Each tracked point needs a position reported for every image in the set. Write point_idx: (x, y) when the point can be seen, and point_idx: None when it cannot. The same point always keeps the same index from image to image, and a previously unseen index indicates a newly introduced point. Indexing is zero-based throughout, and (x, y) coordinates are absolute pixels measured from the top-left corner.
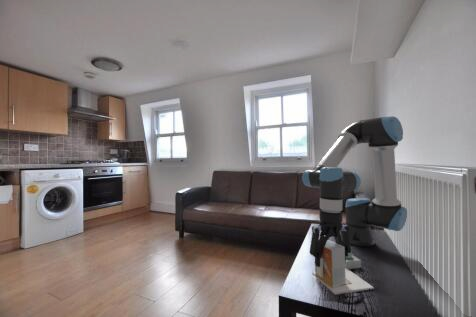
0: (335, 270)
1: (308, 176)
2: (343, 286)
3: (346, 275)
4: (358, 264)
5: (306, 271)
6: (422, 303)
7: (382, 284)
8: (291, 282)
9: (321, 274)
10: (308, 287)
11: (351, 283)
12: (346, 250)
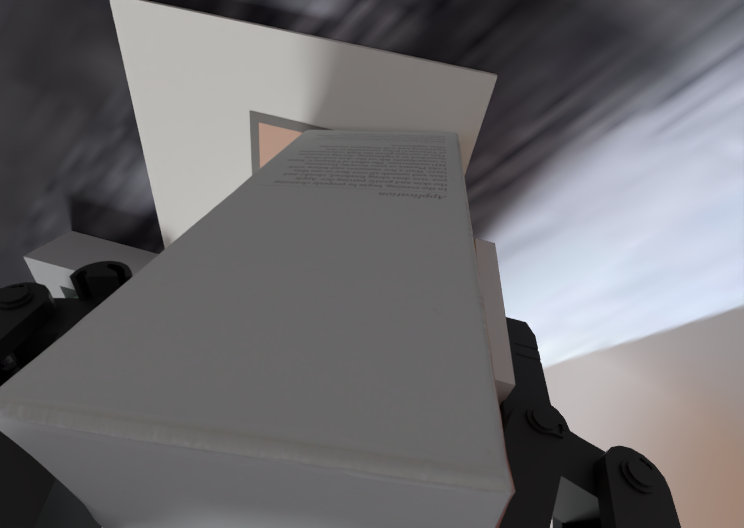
0: (412, 185)
1: None
2: (348, 114)
3: None
4: (67, 247)
5: None
6: None
7: (16, 17)
8: (644, 323)
9: (492, 255)
10: (596, 235)
11: (255, 117)
12: (46, 333)
